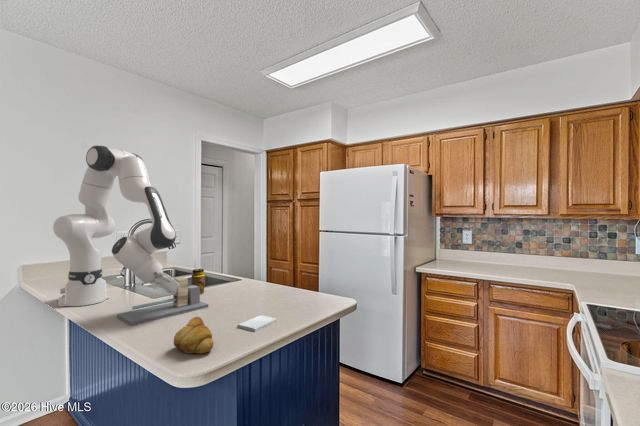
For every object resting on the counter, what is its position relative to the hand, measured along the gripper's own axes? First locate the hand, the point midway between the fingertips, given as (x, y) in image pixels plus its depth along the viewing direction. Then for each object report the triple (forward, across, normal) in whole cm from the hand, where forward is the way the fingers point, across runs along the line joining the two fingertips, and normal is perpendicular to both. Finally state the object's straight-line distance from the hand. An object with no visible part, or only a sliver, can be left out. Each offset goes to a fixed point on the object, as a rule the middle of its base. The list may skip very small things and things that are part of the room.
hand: (174, 292), depth 130 cm
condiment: (+19, +18, -9) cm, 28 cm away
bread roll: (-4, -42, +15) cm, 44 cm away
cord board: (+3, 0, +8) cm, 8 cm away
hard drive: (+14, -39, -3) cm, 41 cm away
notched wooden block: (+6, 0, +2) cm, 6 cm away
